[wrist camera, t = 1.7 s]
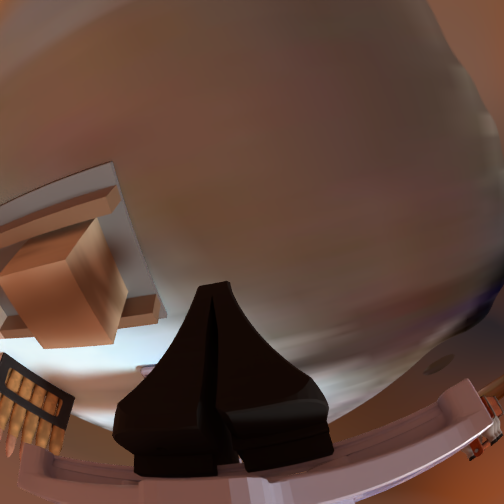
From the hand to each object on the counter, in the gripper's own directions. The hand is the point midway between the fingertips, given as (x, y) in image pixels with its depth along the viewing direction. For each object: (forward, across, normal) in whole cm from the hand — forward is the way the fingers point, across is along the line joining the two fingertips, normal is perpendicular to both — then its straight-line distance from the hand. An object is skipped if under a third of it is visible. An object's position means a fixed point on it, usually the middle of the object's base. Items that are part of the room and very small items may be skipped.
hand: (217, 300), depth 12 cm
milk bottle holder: (+7, -74, +91) cm, 118 cm away
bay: (+7, +14, 0) cm, 15 cm away
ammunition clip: (+7, +26, +14) cm, 30 cm away
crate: (+6, +10, 0) cm, 12 cm away
